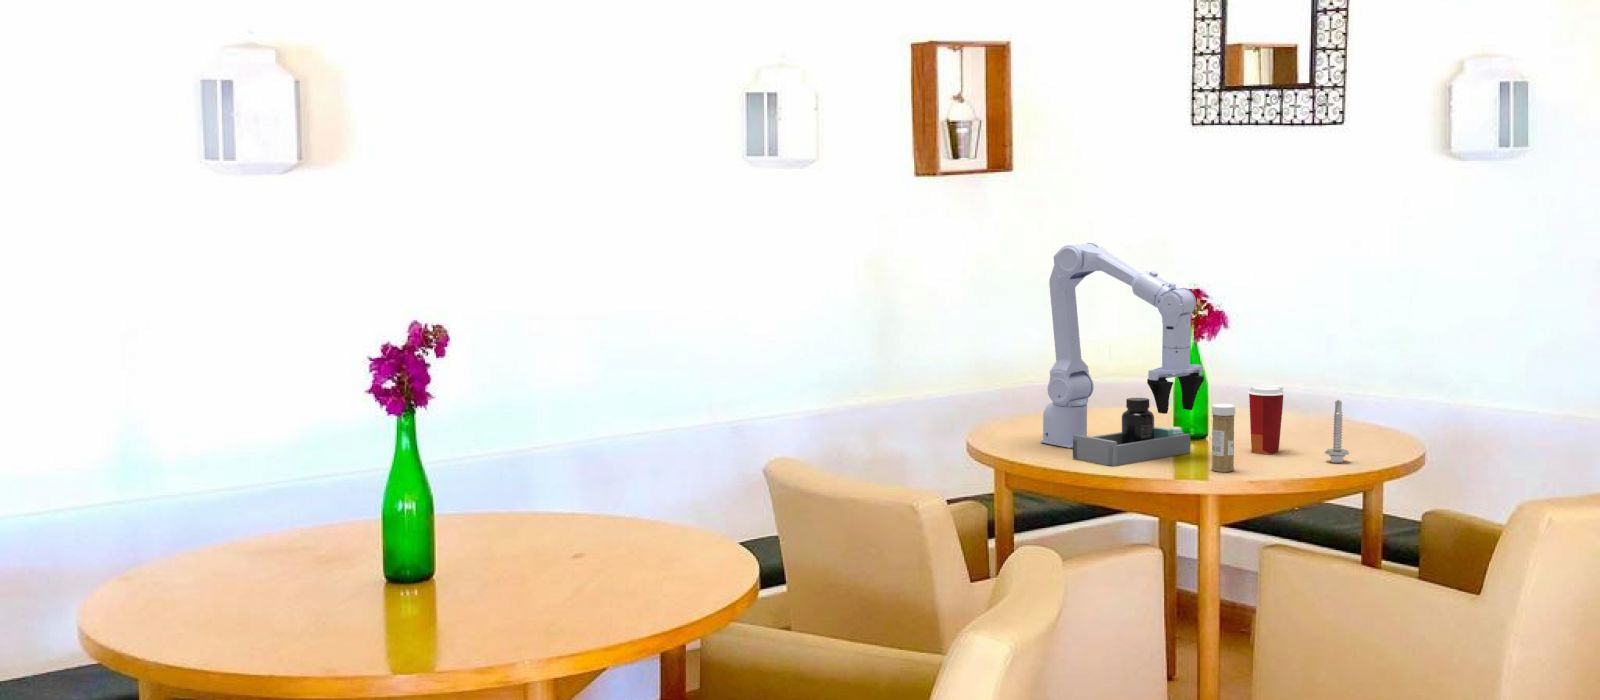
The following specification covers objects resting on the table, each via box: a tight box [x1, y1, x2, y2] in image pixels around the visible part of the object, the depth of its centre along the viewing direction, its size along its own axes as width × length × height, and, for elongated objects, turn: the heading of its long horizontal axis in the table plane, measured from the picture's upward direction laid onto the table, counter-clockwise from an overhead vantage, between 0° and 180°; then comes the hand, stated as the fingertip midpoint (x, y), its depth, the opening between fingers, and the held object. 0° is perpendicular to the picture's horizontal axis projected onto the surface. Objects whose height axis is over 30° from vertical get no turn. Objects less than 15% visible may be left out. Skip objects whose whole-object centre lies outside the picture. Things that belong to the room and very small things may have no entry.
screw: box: [1324, 399, 1350, 464], centre depth 381 cm, size 13×5×5 cm
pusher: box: [1154, 426, 1185, 439], centre depth 397 cm, size 8×8×5 cm
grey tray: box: [1072, 431, 1191, 467], centre depth 391 cm, size 11×24×5 cm, turn 127°
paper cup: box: [1246, 384, 1286, 455], centre depth 393 cm, size 8×8×14 cm
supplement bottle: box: [1121, 397, 1155, 444], centre depth 392 cm, size 7×7×12 cm
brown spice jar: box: [1211, 403, 1236, 473], centre depth 373 cm, size 5×5×13 cm
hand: (1175, 411), depth 387 cm, fingers open, 7 cm apart
